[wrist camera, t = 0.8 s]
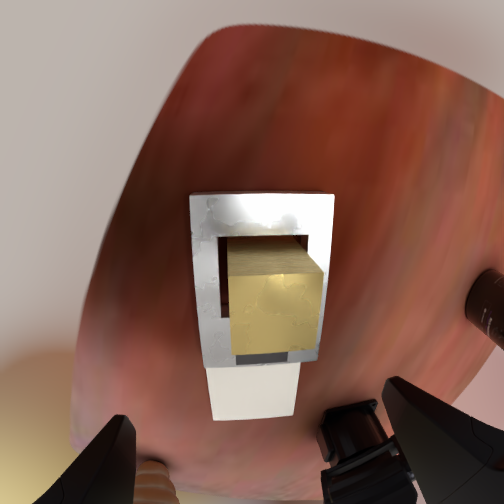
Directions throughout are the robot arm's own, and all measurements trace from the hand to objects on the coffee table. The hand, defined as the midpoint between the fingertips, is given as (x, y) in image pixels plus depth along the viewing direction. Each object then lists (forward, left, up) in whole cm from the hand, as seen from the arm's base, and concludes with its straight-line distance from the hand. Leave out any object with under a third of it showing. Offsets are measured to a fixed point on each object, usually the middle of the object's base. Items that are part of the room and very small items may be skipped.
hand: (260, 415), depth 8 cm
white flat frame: (-1, +1, -13) cm, 13 cm away
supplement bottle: (-28, +5, -13) cm, 31 cm away
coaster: (-1, +12, -13) cm, 18 cm away
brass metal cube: (-1, 0, -13) cm, 13 cm away
